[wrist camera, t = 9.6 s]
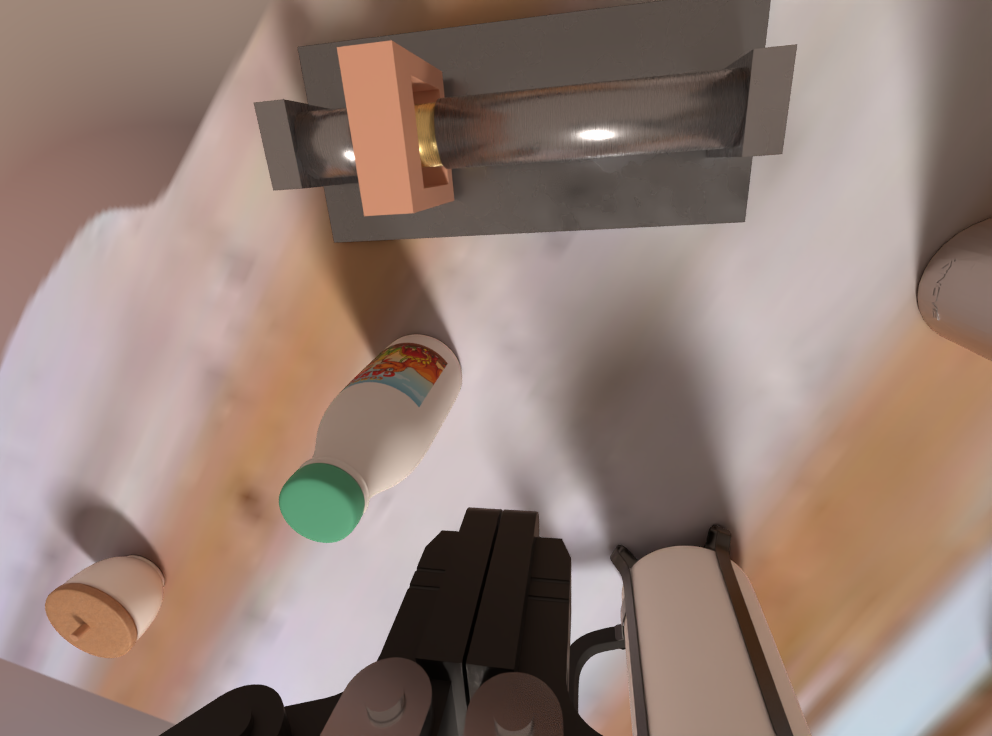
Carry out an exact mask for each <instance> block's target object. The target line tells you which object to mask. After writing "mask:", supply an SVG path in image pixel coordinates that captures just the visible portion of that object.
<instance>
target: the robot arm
mask: <svg viewBox="0 0 992 736" xmlns="http://www.w3.org/2000/svg"><path fill="white" fill-rule="evenodd" d="M918 305H919V310H920V313H921V315H922V317H923V320H924V321H925V322H926V323H927V325H928V326H929V327H930V328H931V329H932V330H933V331H935V332H936V333H938V334H939V335H940V336H942V337H944V338H946V339H948V340H950V341H952V342H954V343H956V344H958V345H960V346H962V347H964V348H966V349H968V350H970V351H973V352H975V353H976V354H978V355H980V356H982V357H984V358H986V359H988V360H990V361H992V218H989V219H987V220H984V221H982V222H979V223H977V224H974V225H972V226H970V227H968V228H967V229H965V230H963V231H962V232H960V233H958V234H957V235H955V236H954V237H953V238H952V239H950V240H949V241H948V242H947V243H945V244H944V245H943V246H942V247H941V248H940V250H939V251H938V252H937V253H936V254H935V255H934V256H933V257H932V259H931V261H930V262H929V264H928V265H927V267H926V269H925V270H924V273H923V275H922V278H921V281H920V283H919V290H918ZM570 634H571V557H570V555H569V553H568V551H567V549H566V547H565V545H564V543H563V541H562V539H556V538H542V537H539V514H538V512H536V511H520V510H504V511H502V509H486V508H470V507H469V508H468V509H467V510H466V513H465V516H464V519H463V522H462V524H461V527H460V530H459V532H457V531H443V530H442V531H441V532H440V533H439V534H438V535H437V536H436V537H435V538H434V539H433V540H432V541H431V542H430V543H429V544H428V545H427V546H426V547H425V549H424V552H423V554H422V557H421V559H420V561H419V564H418V566H417V571H415V573H414V576H413V578H412V580H411V583H410V588H409V589H408V590H407V592H406V595H405V597H404V599H403V602H402V604H401V606H400V609H399V611H398V614H397V616H396V618H395V621H394V623H393V625H392V628H391V630H390V633H389V635H388V637H387V640H386V642H385V644H384V647H383V649H382V652H381V654H380V656H379V658H378V660H377V662H374V663H372V664H370V665H368V666H367V667H365V668H364V669H363V670H361V671H360V672H359V673H358V674H357V675H356V676H354V678H353V679H352V680H351V681H350V682H349V684H348V685H347V687H346V688H345V690H344V692H342V693H339V694H337V695H335V696H331V697H328V698H324V699H319V700H314V701H309V702H304V703H300V704H295V705H290V706H285V707H284V705H283V702H282V699H281V697H280V696H279V694H278V693H277V692H276V691H275V690H274V689H272V688H270V687H268V686H265V685H246V686H242V687H239V688H236V689H233V690H231V691H229V692H227V693H225V694H223V695H222V696H220V697H218V698H217V699H215V700H213V701H212V702H210V703H209V704H207V705H206V706H204V707H203V708H201V709H200V710H198V711H196V712H195V713H193V714H192V715H190V716H189V717H187V718H186V719H184V720H182V721H181V722H179V723H178V724H176V725H175V726H173V727H172V728H170V729H169V730H167V731H165V732H164V733H162V734H161V735H159V736H603V735H601V734H599V733H598V732H596V731H595V730H594V729H592V728H591V727H590V726H589V725H588V724H587V723H586V722H585V721H584V720H583V719H582V718H581V717H580V715H579V714H578V712H577V711H576V710H575V708H574V706H573V704H572V702H571V699H570V697H569V694H568V689H569V659H570Z"/></svg>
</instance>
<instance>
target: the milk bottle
mask: <svg viewBox="0 0 992 736" xmlns="http://www.w3.org/2000/svg"><path fill="white" fill-rule="evenodd" d="M461 385H462V371H461V367H460V364H459V362H458V360H457V358H456V356H455V355H454V353H453V352H452V351H451V350H450V349H449V348H448V346H446V345H445V344H444V343H442V342H441V341H439V340H437V339H435V338H433V337H430V336H426V335H420V334H413V335H407V336H403V337H401V338H399V339H397V340H395V341H394V342H393V343H391V344H390V345H389V346H388V347H387V348H385V349H384V350H383V351H382V352H381V353H380V354H379V355H378V356H377V357H376V358H375V359H374V360H373V361H372V362H371V363H370V364H368V365H367V366H366V367H365V368H364V369H363V370H362V371H361V372H360V373H359V374H358V375H357V376H356V377H355V378H354V379H353V380H352V381H351V382H350V383H349V384H348V385H347V386H346V387H345V388H344V389H343V390H342V391H341V392H340V393H339V394H338V395H337V397H336V398H335V399H334V400H333V401H332V403H331V404H330V405H329V407H328V408H327V410H326V412H325V413H324V415H323V417H322V420H321V422H320V425H319V428H318V432H317V438H316V446H315V452H314V455H313V457H312V459H310V460H308V461H306V462H305V463H303V464H302V465H301V466H300V468H299V469H298V470H297V471H296V472H295V473H294V474H293V475H292V476H291V477H290V478H289V479H288V481H287V482H286V483H285V484H284V486H283V488H282V490H281V492H280V496H279V507H280V510H281V513H282V515H283V517H284V519H285V520H286V522H287V523H288V524H289V525H290V526H291V527H292V528H293V529H294V530H295V531H296V532H297V533H299V534H300V535H302V536H304V537H306V538H308V539H310V540H313V541H317V542H323V543H332V542H337V541H340V540H342V539H344V538H345V537H346V536H348V535H349V534H350V533H351V532H352V531H353V530H354V528H355V527H356V525H357V524H358V522H359V521H360V519H361V517H362V515H363V513H364V512H365V511H366V509H367V507H368V505H369V499H370V498H371V497H373V496H374V495H376V494H378V493H380V492H382V491H384V490H387V489H389V488H391V487H393V486H395V485H396V484H398V483H399V482H401V481H402V480H404V479H405V478H406V477H407V476H408V475H409V474H411V472H412V471H413V470H414V469H415V468H416V467H417V466H418V464H419V463H420V462H421V460H422V459H423V457H424V455H425V454H426V452H427V451H428V449H429V447H430V446H431V444H432V442H433V440H434V438H435V437H436V435H437V433H438V431H439V430H440V428H441V426H442V424H443V422H444V420H445V419H446V417H447V415H448V413H449V411H450V409H451V408H452V406H453V404H454V402H455V400H456V398H457V396H458V394H459V392H460V389H461Z"/></svg>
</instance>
